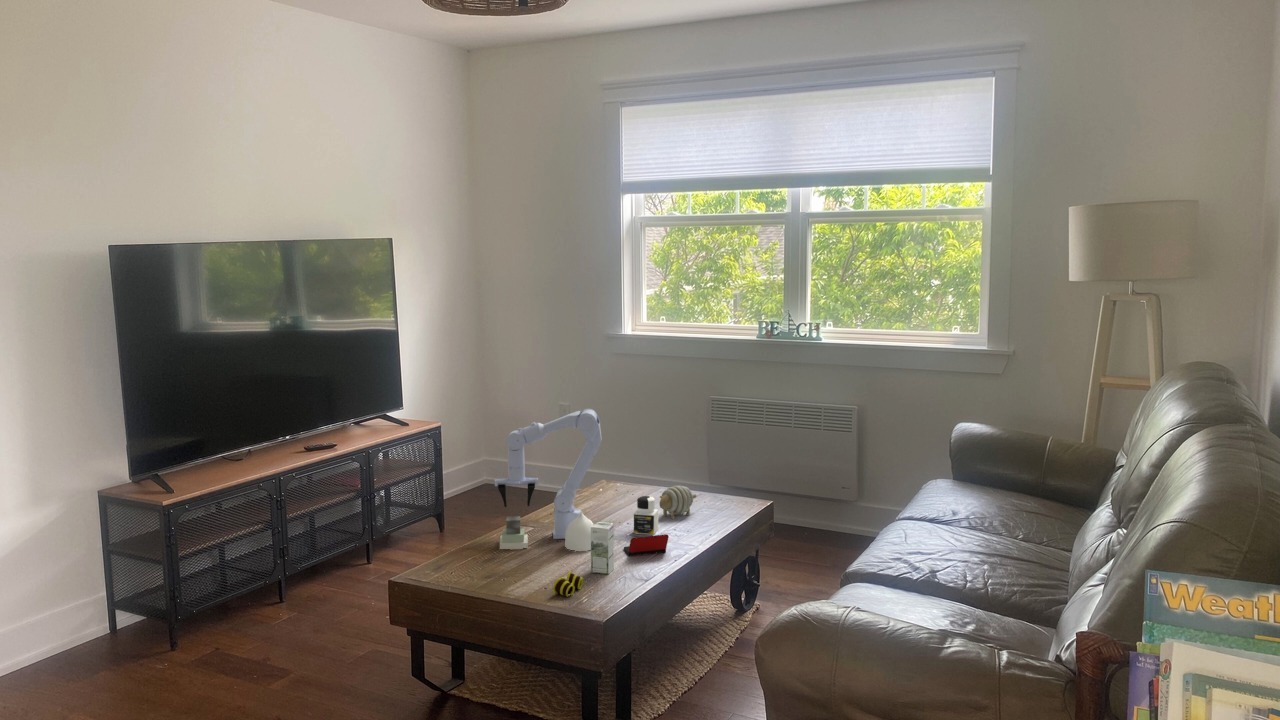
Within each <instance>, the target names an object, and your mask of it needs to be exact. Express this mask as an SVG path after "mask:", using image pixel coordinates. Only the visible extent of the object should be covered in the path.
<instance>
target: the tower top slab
mask: <svg viewBox="0 0 1280 720" xmlns="http://www.w3.org/2000/svg"><path fill="white" fill-rule="evenodd" d="M501 534H502V535H501V536H502V543H517V542H524V536H525V535H526V533H525V528H520V534H506V528H503V529H502V533H501Z"/></svg>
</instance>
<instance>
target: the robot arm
mask: <svg viewBox="0 0 1280 720" xmlns="http://www.w3.org/2000/svg"><path fill="white" fill-rule="evenodd" d="M568 427H570V428H573V429H577V428H579V430H580V431H581V432H582V433H583V435H584V437H585V440H586V442H585V444H584V446H583V448H582V450H581V452H580V454H579V456H578V458H577V460H576V462H575V464H574V466H573V468H572V470H571V471H570V473H569V476H568V477H567V479H566V481H565V483H563V484H564V485H562V487H561V488H560V489H558V491H557V492H556V494H555V498H554V500H553V505H554V508H553V520H554V521H553V527H554V528H553V530H552V537H553V540H558V539H559V540H560V539H564V540H565V534H566V530H567V527H568V526H569V524H570V523H571V522H572V521H573V520H575V519H576V518H577V517H578V516H579V514H580V512H581V511H582V509H579V508H576V506H575V505H574V502H575V501H574V500H575V496H576V494H577V491H578V489H579V487H580V485H581V482H582V481H583V479H584V477H585V475H586V473H587V472H588V469H589V468H590V466H591V464H592V462H593V460H594V457H595V455H596V454H597V452H598V450H599V448H600V446H601V444H602V441H603V439H602V438H603V437H602V429H601V420H600V418H599V416H598V414H597V412H596V411H595V410H594V409H592V408H584V409H583V410H576V411H574V412H571V413H569V414H566V415H564V416H561V417H559V418H556V419H554V420H552V421H548V422H545V423H544V424H543V423H542V422H536V421H533V422H531V423H530V425H528V426H525V427H523V428H522V427H519V428H518V429H517V430H516V429H515V430H512V431H511V432H510V433H509V434H508V436H507V437H506V440H505V444H506V446H507V477H506V478H498V479H497V478H496V479H494V487H497V489H498V491H499V493H500V495H501V498H502V501H503V506H504V508H506V507H507V505H508V503H507V501H508V500H507V486H521V485H522V486H524V485H525V486H527V507H530V504H531V499H532V495H533V493H534V491H535V488H536V485H537V486H538V485H539V477H526V468H525V466H526V464H525V463H526V462H525V461H526V460H525V446H528V445H531V444H533V443H535V442H538V441H541V440H543V439H545V438H546V437H547V434H549V433H552V432H556V431H558V430H561V429H565V428H568Z"/></svg>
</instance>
